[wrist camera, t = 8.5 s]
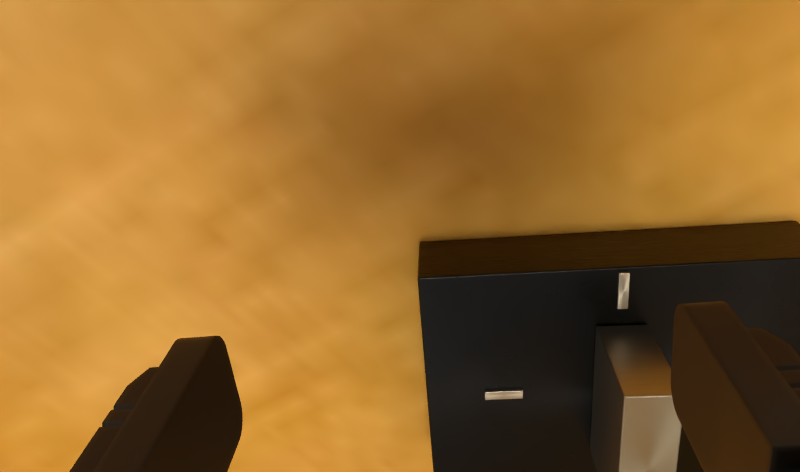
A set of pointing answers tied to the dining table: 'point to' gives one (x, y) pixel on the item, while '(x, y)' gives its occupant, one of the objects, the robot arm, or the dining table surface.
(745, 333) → the robot arm
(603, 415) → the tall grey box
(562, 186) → the dining table surface
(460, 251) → the panel
